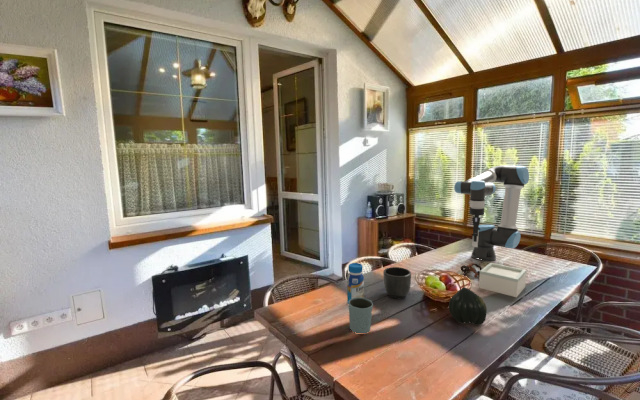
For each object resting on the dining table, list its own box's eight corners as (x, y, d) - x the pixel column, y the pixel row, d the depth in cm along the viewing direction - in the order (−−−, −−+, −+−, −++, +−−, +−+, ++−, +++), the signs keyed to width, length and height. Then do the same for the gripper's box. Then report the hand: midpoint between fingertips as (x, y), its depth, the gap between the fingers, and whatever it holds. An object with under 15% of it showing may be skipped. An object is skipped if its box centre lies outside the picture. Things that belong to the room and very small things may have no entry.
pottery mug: (474, 272, 199) (480, 263, 194) (479, 283, 191) (486, 274, 186) (455, 267, 198) (462, 258, 193) (460, 279, 190) (466, 270, 186)
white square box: (489, 278, 187) (490, 262, 186) (525, 286, 175) (526, 269, 173) (478, 287, 174) (479, 270, 173) (516, 297, 162) (517, 279, 161)
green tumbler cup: (348, 323, 140) (347, 297, 139) (371, 323, 140) (371, 297, 138) (349, 336, 130) (349, 308, 129) (374, 336, 130) (374, 308, 128)
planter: (383, 288, 175) (383, 266, 173) (409, 290, 172) (410, 267, 170) (383, 300, 162) (383, 275, 160) (411, 302, 159) (412, 277, 157)
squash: (485, 323, 128) (486, 287, 135) (445, 316, 135) (448, 282, 142) (486, 332, 138) (487, 298, 145) (449, 325, 145) (452, 293, 153)
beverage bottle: (352, 298, 164) (352, 261, 161) (367, 302, 159) (367, 264, 157) (343, 304, 157) (343, 265, 155) (359, 309, 153) (358, 269, 150)
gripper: (470, 204, 195) (469, 237, 199) (468, 211, 174) (467, 248, 177) (484, 204, 192) (482, 238, 195) (484, 211, 170) (482, 250, 173)
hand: (475, 243), depth 186 cm, fingers open, 13 cm apart
